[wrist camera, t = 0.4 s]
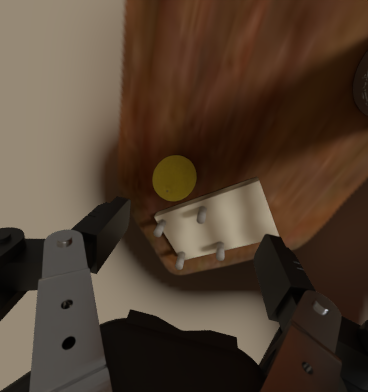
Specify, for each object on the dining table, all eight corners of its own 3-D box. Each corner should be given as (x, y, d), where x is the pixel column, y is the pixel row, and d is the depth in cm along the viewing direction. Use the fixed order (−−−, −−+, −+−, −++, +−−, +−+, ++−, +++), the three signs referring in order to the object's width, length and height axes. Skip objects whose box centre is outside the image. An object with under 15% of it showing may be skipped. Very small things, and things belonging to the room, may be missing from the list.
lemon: (158, 152, 28) (136, 172, 21) (195, 145, 27) (185, 163, 20) (168, 187, 31) (152, 214, 24) (203, 181, 29) (196, 209, 22)
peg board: (257, 176, 27) (263, 190, 23) (276, 231, 31) (284, 251, 27) (156, 212, 33) (147, 228, 29) (182, 254, 37) (177, 273, 33)
